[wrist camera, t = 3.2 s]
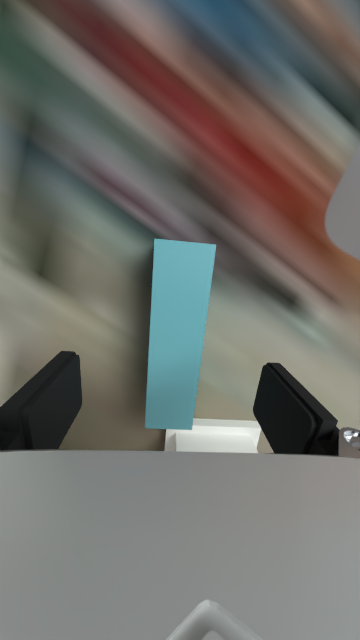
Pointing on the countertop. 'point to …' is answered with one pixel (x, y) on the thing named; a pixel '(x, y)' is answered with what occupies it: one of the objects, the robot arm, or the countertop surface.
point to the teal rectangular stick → (177, 331)
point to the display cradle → (215, 436)
